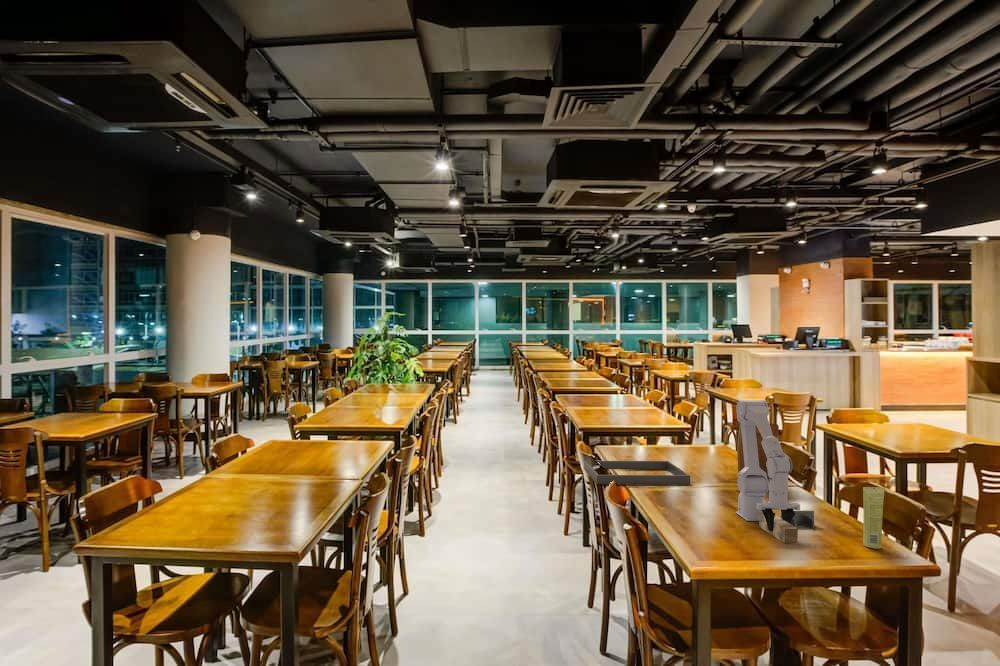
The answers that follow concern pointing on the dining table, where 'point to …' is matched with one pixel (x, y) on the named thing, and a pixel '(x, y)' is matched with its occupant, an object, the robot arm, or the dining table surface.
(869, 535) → the tube
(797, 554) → the dining table surface
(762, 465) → the pancake mix bag
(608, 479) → the paper frame
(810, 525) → the bracket
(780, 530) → the rail
